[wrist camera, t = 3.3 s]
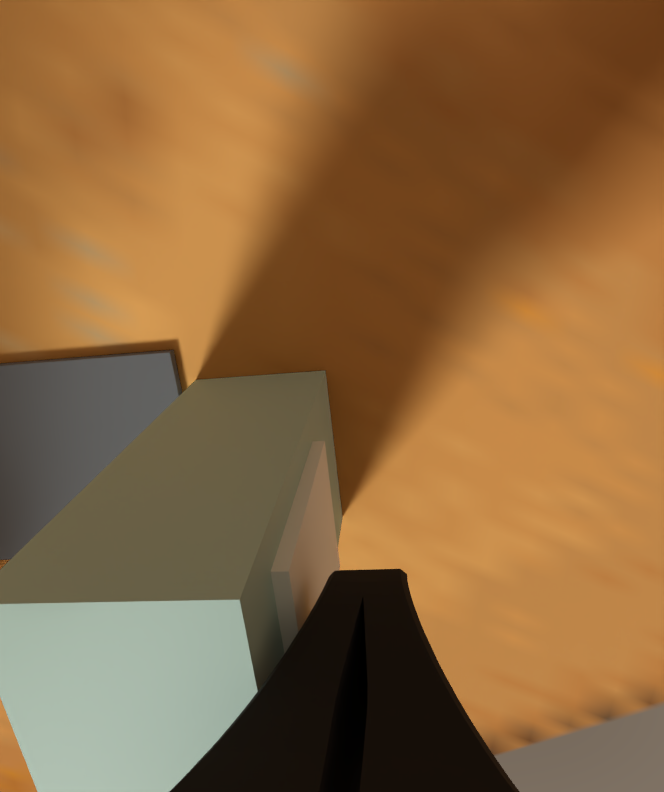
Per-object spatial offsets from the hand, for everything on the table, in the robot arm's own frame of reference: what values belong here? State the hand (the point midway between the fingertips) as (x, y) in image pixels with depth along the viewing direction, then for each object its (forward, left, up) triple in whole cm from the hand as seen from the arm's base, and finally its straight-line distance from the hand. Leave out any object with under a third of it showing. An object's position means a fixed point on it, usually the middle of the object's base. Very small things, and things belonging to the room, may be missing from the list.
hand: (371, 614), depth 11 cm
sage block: (-3, 0, -7) cm, 8 cm away
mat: (-11, 0, -7) cm, 13 cm away
